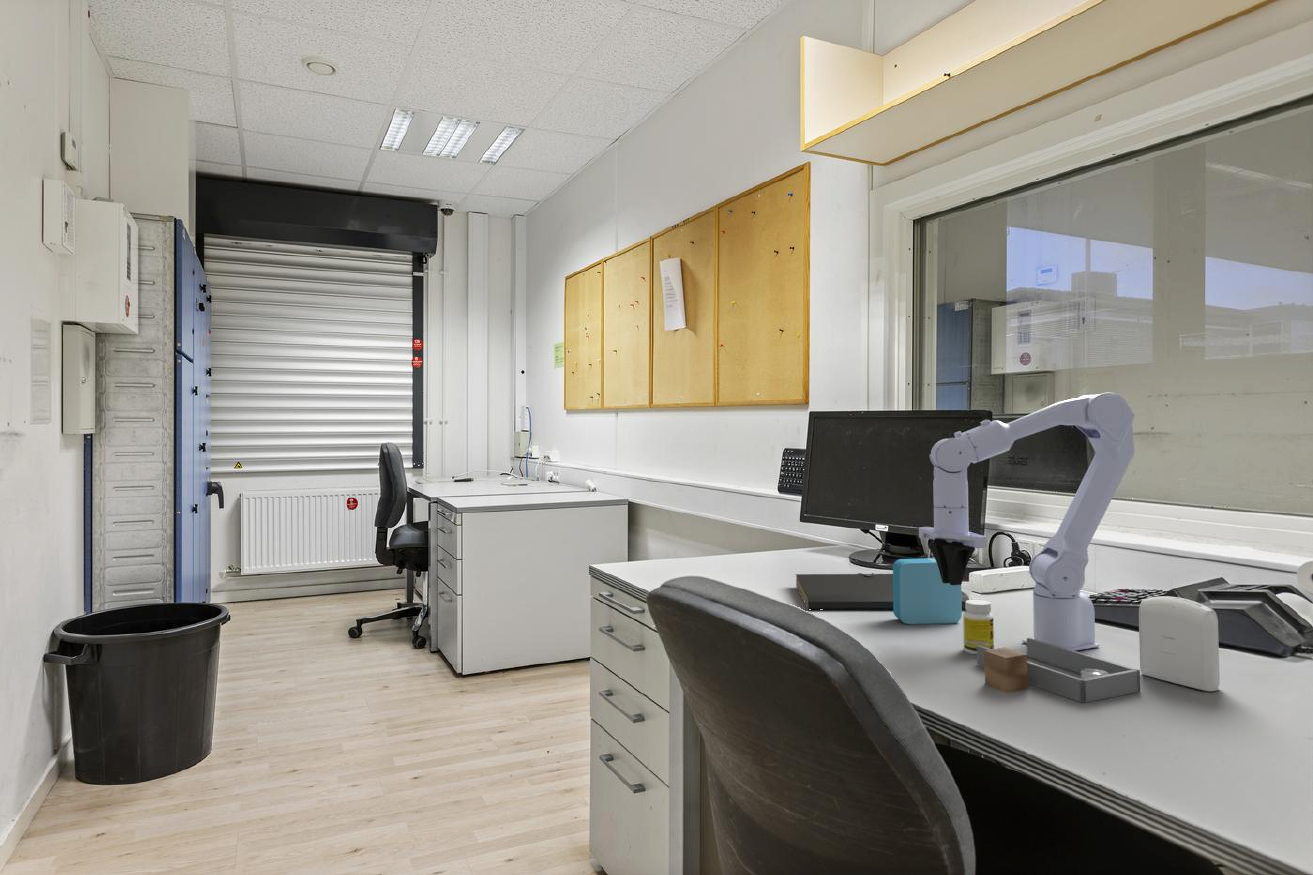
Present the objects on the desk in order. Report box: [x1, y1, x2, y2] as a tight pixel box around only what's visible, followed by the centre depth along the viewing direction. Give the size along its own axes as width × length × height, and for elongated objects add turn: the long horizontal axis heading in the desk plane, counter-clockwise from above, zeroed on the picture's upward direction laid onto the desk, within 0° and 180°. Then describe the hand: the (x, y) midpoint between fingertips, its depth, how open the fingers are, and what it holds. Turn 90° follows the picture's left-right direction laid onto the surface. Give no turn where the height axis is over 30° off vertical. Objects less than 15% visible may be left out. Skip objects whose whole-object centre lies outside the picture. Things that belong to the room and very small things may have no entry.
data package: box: [892, 557, 963, 625], centre depth 152 cm, size 12×4×12 cm, turn 91°
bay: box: [976, 637, 1141, 704], centre depth 117 cm, size 11×19×3 cm, turn 22°
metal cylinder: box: [1080, 669, 1109, 679], centre depth 110 cm, size 4×4×3 cm
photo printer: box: [1138, 595, 1221, 692], centre depth 114 cm, size 10×4×12 cm, turn 26°
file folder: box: [795, 572, 970, 611], centre depth 173 cm, size 33×4×24 cm
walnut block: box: [984, 647, 1028, 693], centre depth 113 cm, size 4×4×5 cm
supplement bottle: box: [962, 599, 995, 656], centre depth 131 cm, size 5×5×8 cm
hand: (952, 583), depth 136 cm, fingers closed
